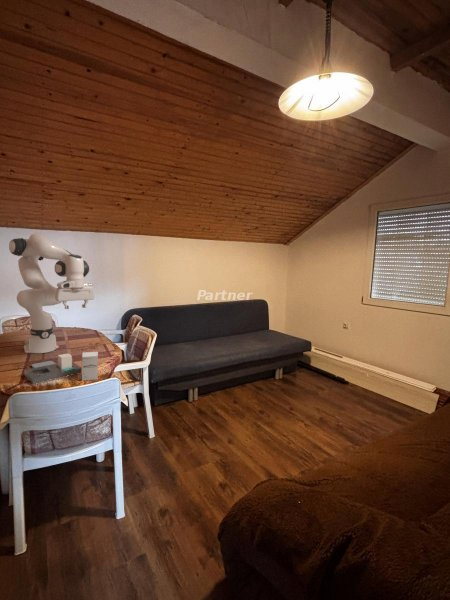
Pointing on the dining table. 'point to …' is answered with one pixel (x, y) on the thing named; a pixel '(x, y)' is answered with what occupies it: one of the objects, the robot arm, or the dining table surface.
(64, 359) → the peg
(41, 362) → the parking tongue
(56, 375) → the rack plate
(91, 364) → the supplement box
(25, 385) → the dining table surface
